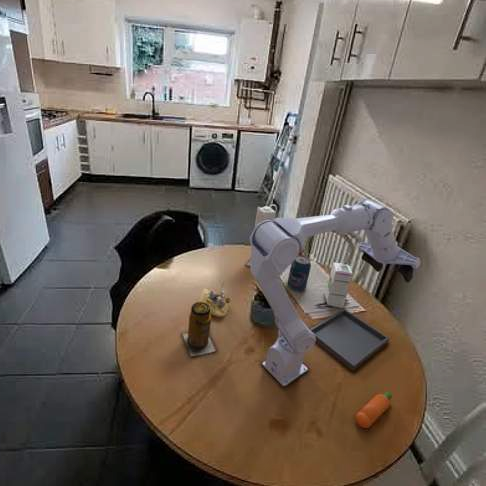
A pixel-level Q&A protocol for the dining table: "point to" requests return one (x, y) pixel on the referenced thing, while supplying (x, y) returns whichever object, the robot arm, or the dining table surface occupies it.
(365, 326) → the gray tray
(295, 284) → the soda can
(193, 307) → the condiment
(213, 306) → the cake
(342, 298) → the syrup box
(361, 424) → the carrot
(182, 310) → the dining table surface
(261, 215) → the skyscraper
